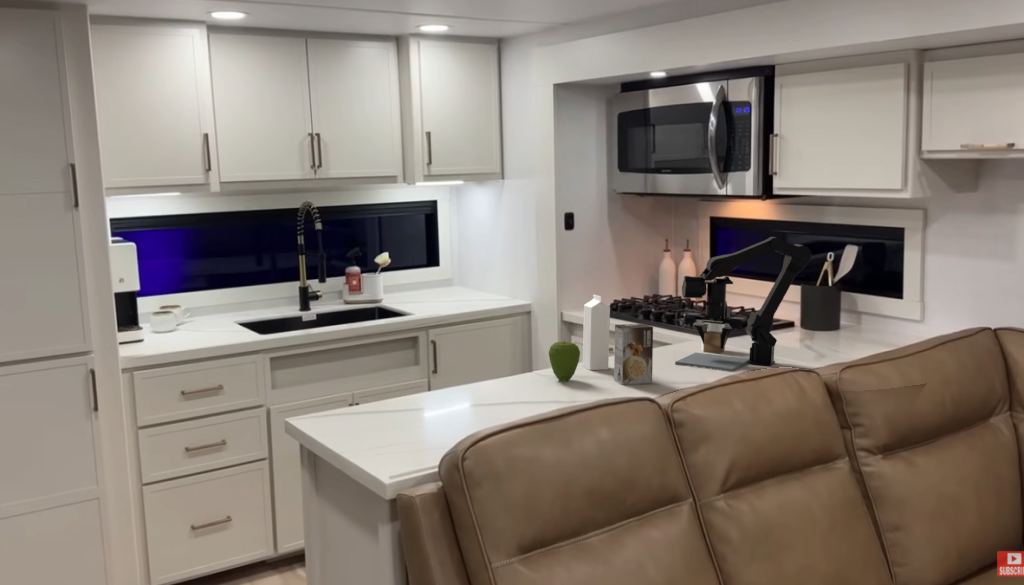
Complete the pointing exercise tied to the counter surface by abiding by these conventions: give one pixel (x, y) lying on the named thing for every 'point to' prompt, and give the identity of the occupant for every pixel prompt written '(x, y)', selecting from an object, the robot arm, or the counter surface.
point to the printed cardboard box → (633, 354)
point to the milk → (596, 334)
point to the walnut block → (713, 342)
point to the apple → (564, 359)
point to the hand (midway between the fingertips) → (714, 348)
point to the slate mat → (713, 361)
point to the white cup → (712, 328)
